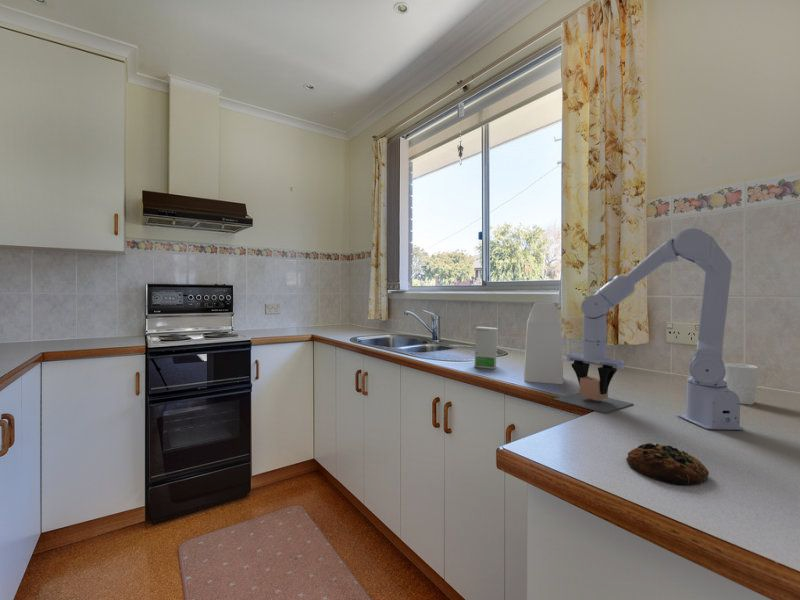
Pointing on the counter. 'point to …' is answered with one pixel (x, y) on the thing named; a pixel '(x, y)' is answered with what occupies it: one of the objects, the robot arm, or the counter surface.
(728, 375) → the white cup
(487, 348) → the skincare box
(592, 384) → the cube
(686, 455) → the bread roll
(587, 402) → the panel
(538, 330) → the milk
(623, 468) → the counter surface
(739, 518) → the counter surface
